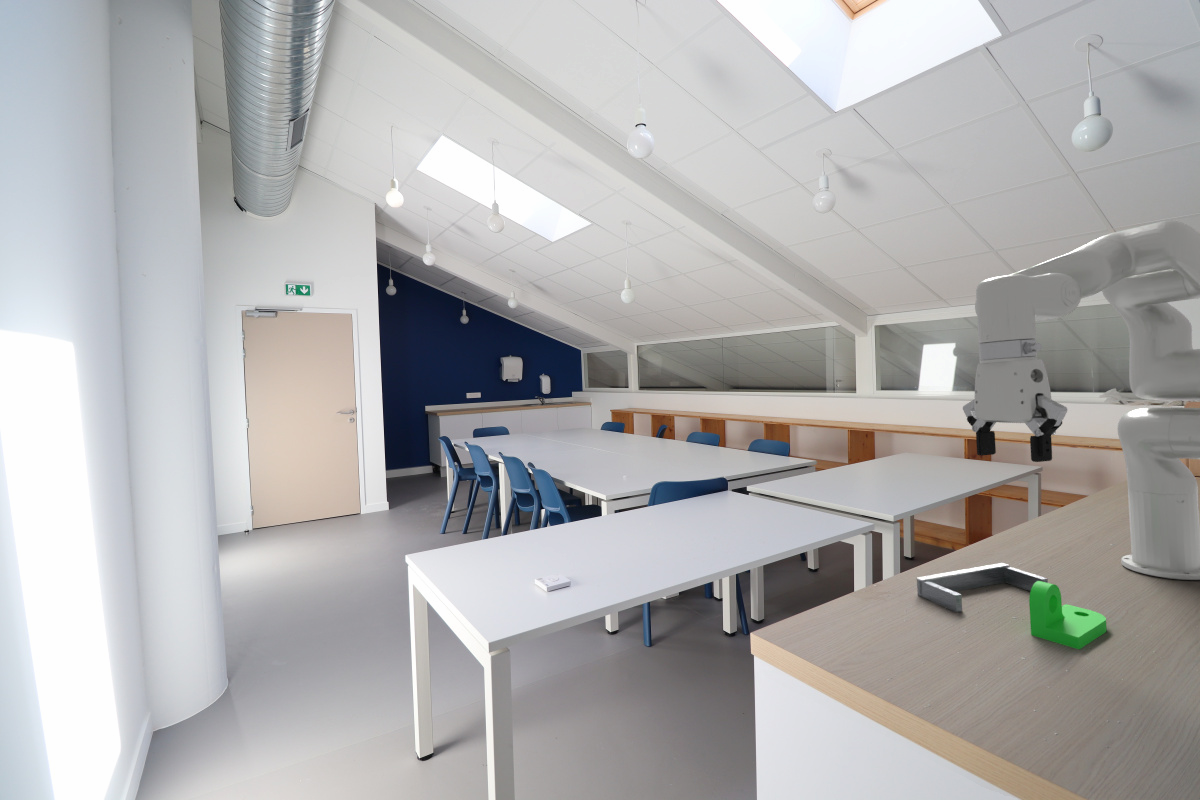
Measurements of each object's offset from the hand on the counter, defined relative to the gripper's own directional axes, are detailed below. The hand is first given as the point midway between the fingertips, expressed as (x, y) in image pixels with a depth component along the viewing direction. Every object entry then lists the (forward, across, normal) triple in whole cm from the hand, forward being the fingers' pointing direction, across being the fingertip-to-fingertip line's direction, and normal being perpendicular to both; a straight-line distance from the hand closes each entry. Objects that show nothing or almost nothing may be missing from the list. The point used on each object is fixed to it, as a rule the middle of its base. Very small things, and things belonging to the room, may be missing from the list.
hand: (1012, 457), depth 89 cm
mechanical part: (+28, -5, -4) cm, 28 cm away
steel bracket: (+27, +11, -4) cm, 30 cm away
